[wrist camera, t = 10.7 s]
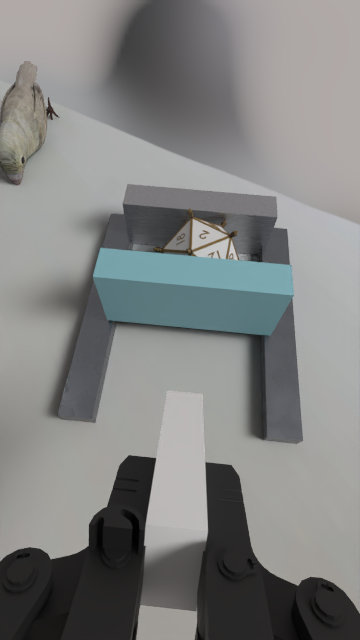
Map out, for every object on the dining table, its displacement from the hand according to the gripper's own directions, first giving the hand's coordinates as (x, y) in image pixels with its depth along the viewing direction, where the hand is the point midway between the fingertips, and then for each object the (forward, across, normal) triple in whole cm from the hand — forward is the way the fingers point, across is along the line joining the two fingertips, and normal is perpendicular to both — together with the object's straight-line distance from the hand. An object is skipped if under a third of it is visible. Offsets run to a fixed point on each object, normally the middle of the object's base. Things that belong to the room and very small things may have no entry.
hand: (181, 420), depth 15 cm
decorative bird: (+41, -24, +15) cm, 50 cm away
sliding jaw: (+20, 0, -1) cm, 20 cm away
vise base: (+23, 0, -1) cm, 23 cm away
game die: (+25, +1, +2) cm, 25 cm away
